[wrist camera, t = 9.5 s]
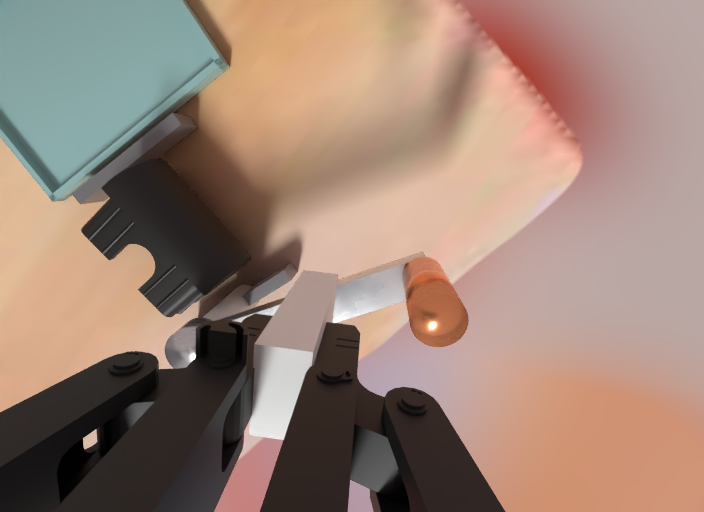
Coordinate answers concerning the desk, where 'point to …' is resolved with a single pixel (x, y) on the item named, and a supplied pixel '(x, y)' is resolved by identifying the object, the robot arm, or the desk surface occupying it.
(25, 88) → the tray
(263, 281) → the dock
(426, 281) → the crank handle
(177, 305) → the end cap
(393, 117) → the desk surface
